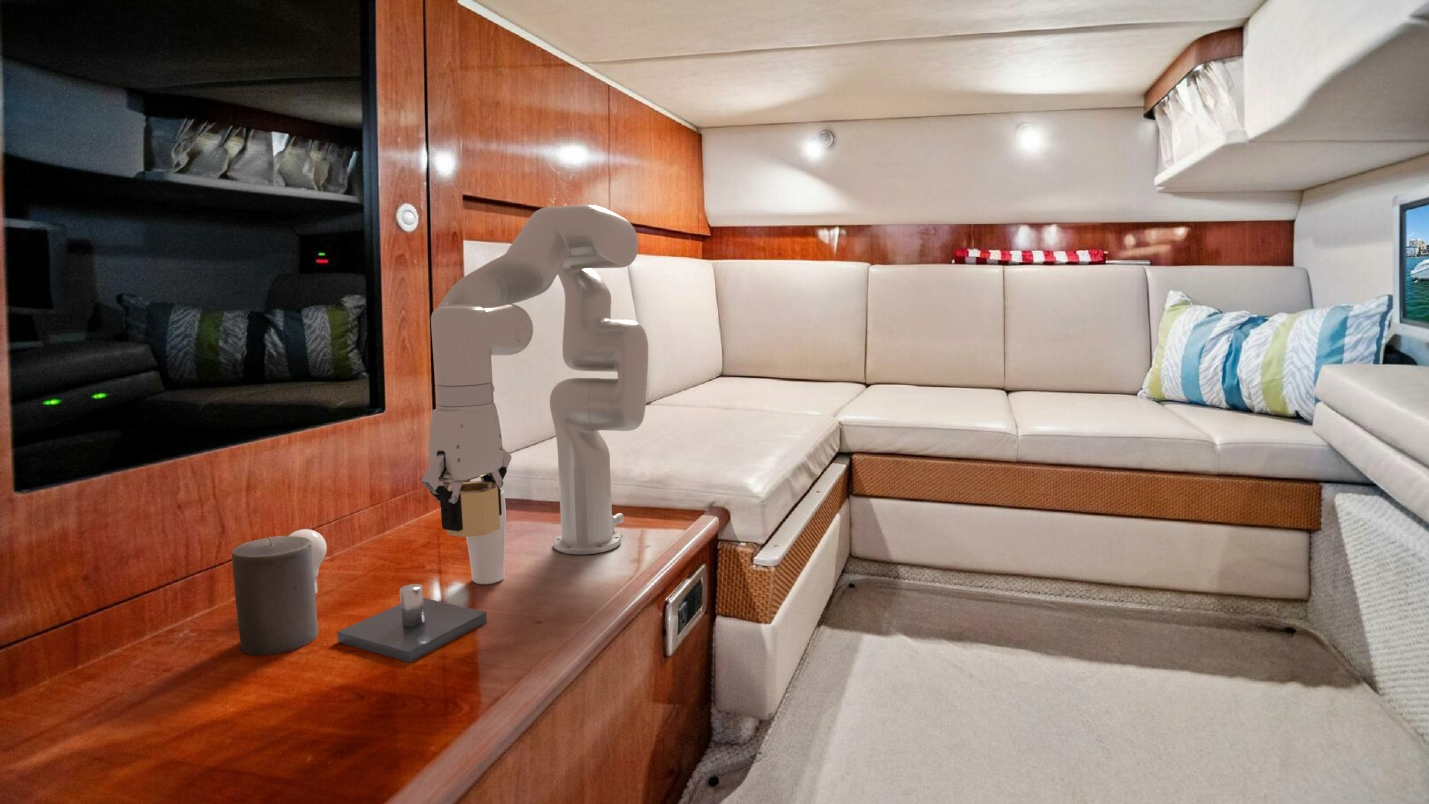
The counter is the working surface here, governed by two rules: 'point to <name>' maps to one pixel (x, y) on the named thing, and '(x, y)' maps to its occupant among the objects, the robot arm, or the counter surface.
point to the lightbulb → (314, 549)
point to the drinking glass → (488, 552)
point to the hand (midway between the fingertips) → (472, 521)
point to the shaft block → (412, 626)
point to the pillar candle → (275, 594)
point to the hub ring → (478, 508)
